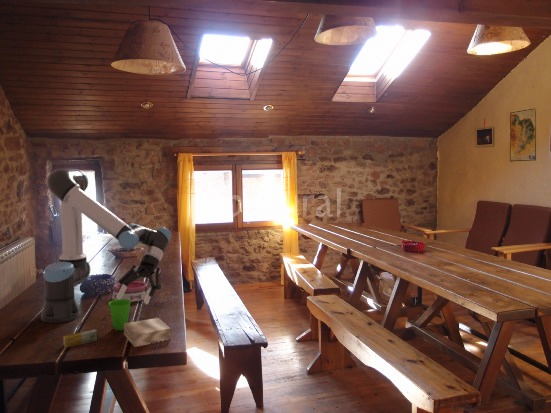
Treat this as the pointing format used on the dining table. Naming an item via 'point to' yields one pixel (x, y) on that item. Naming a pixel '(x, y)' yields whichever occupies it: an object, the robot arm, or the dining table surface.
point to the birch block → (147, 332)
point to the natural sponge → (139, 278)
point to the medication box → (80, 338)
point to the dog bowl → (132, 291)
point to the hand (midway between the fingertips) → (131, 301)
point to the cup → (119, 312)
